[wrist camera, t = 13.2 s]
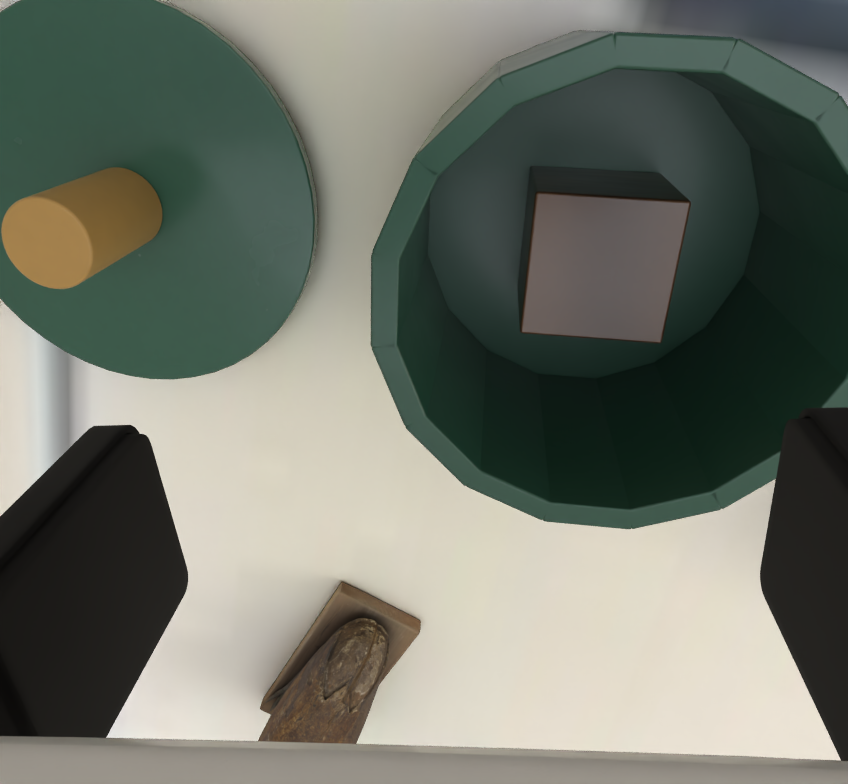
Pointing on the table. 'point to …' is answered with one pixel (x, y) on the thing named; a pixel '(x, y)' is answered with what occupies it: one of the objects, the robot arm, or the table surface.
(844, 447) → the robot arm
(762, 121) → the tin
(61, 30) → the lid
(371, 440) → the table surface
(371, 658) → the figurine
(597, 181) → the block
